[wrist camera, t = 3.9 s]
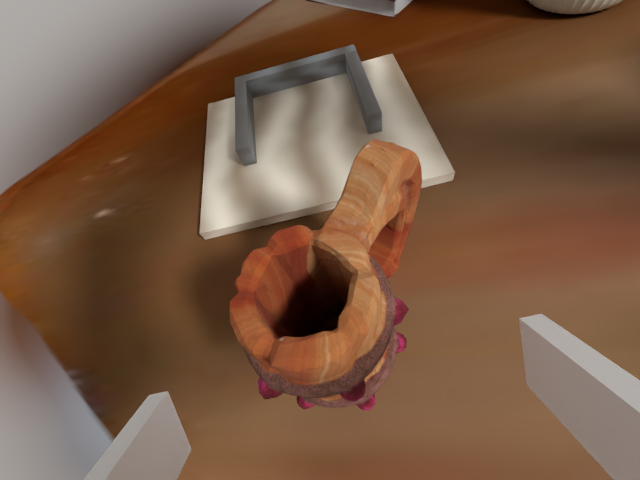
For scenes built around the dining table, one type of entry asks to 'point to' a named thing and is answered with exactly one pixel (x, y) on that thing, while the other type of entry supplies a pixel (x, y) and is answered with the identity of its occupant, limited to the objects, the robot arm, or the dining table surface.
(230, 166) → the notched board
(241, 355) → the dining table surface
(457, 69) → the dining table surface
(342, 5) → the book
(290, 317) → the mug
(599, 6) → the canister
